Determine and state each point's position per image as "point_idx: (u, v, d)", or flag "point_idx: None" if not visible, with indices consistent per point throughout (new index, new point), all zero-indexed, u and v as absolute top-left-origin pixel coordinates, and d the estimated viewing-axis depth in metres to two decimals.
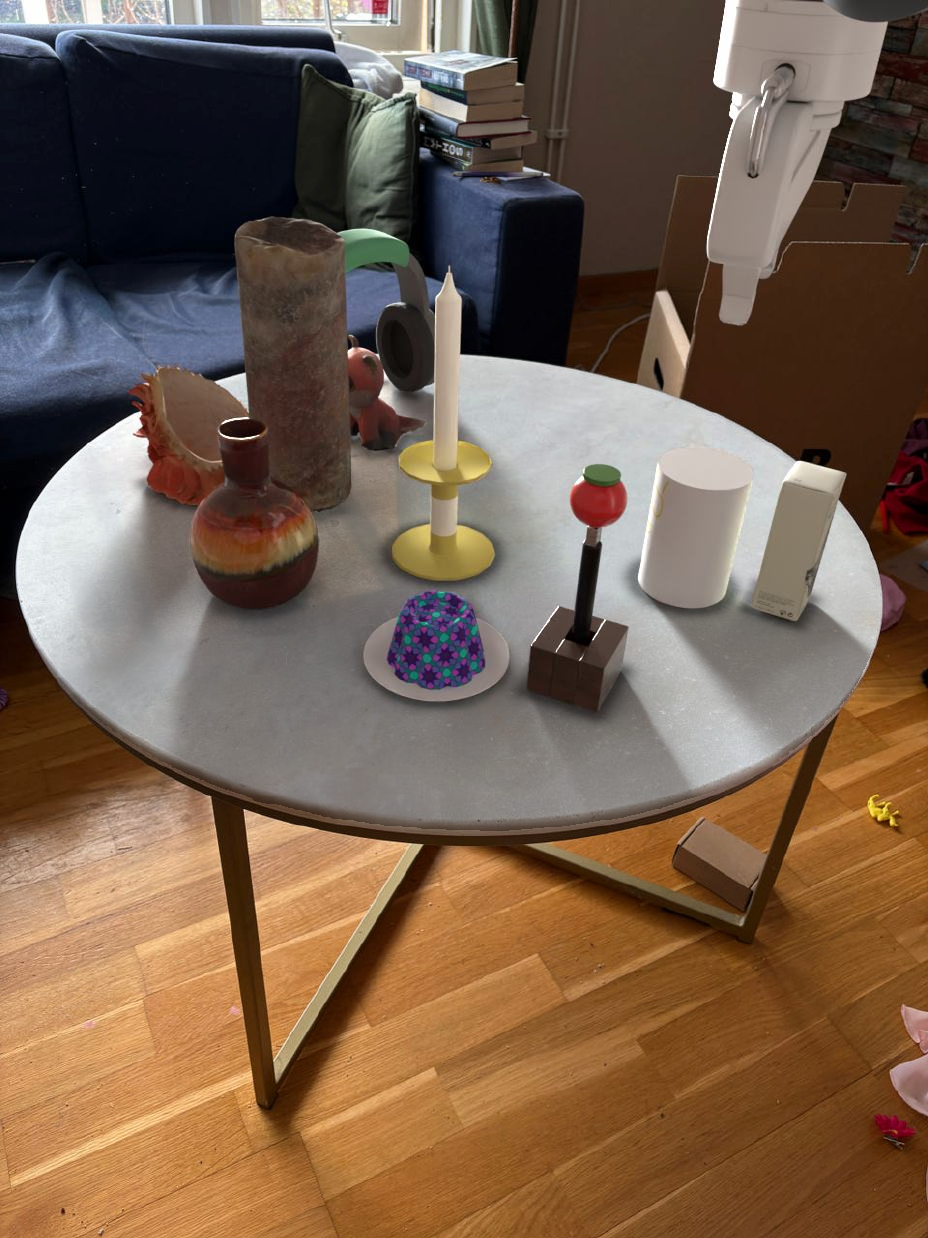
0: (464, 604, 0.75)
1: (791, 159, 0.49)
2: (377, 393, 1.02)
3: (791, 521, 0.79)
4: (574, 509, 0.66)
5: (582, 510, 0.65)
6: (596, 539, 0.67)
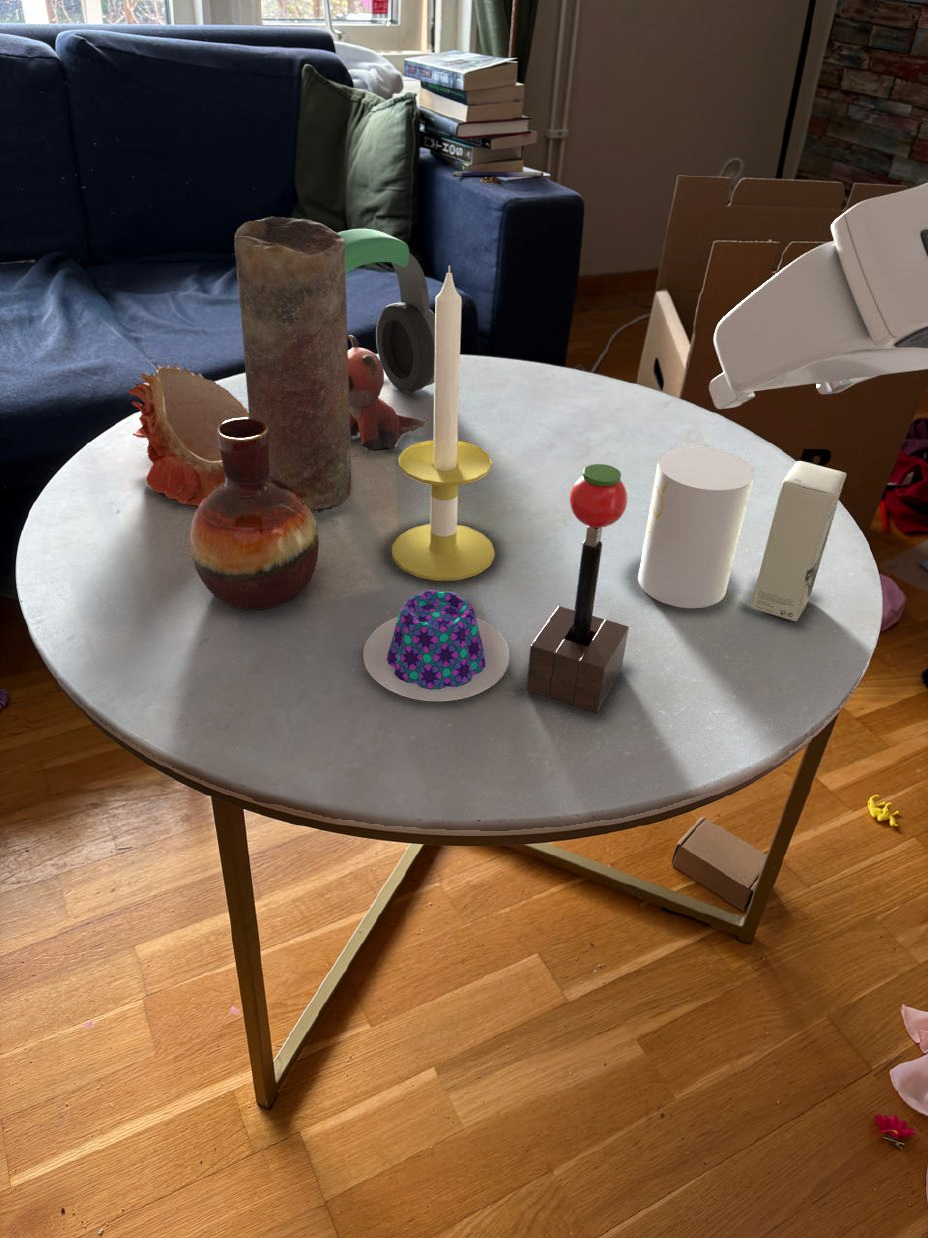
0: (464, 604, 0.75)
1: None
2: (377, 393, 1.02)
3: (791, 521, 0.79)
4: (574, 509, 0.66)
5: (582, 510, 0.65)
6: (596, 539, 0.67)
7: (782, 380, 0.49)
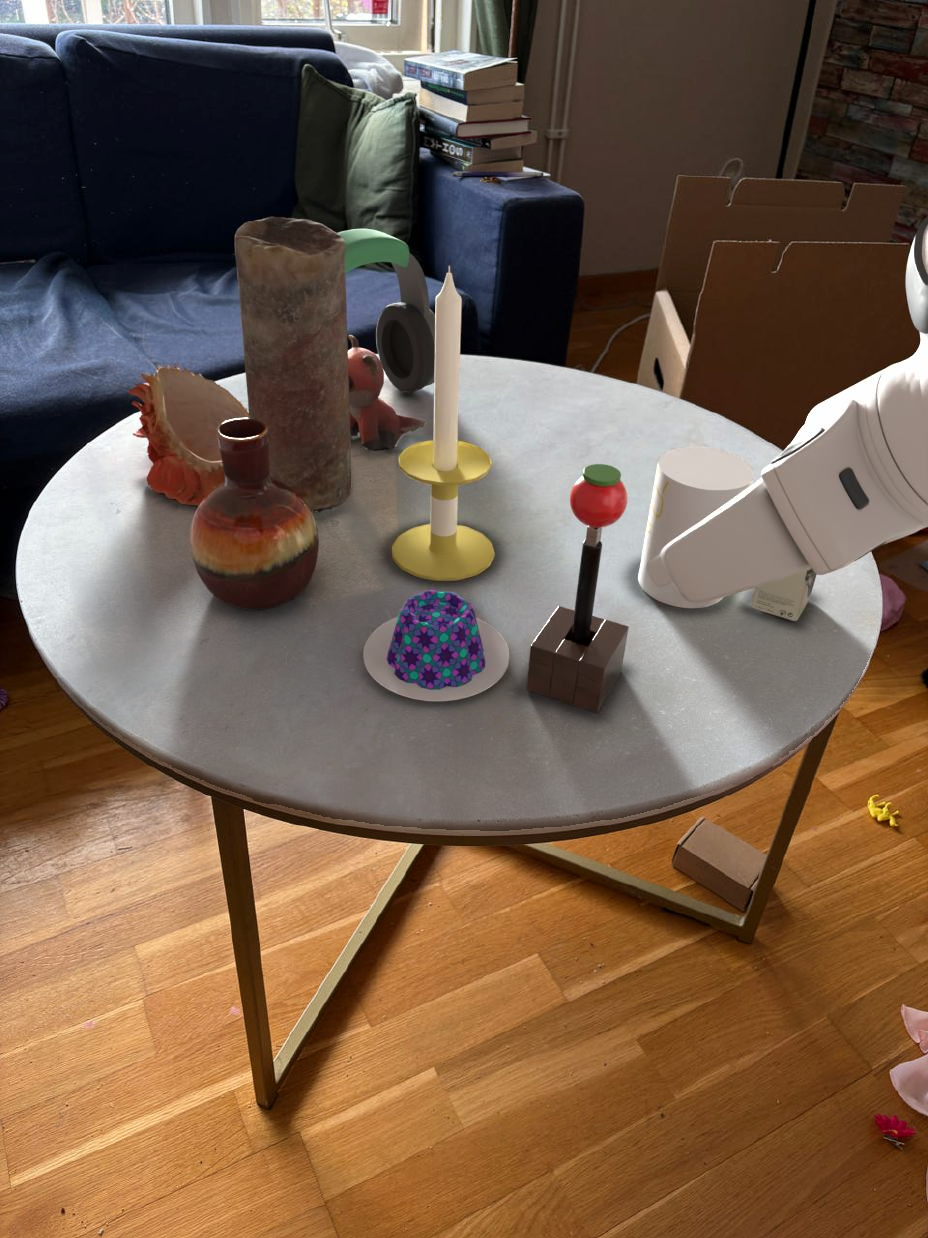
0: (464, 604, 0.75)
1: None
2: (377, 393, 1.02)
3: None
4: (574, 509, 0.66)
5: (582, 510, 0.65)
6: (596, 539, 0.67)
7: None
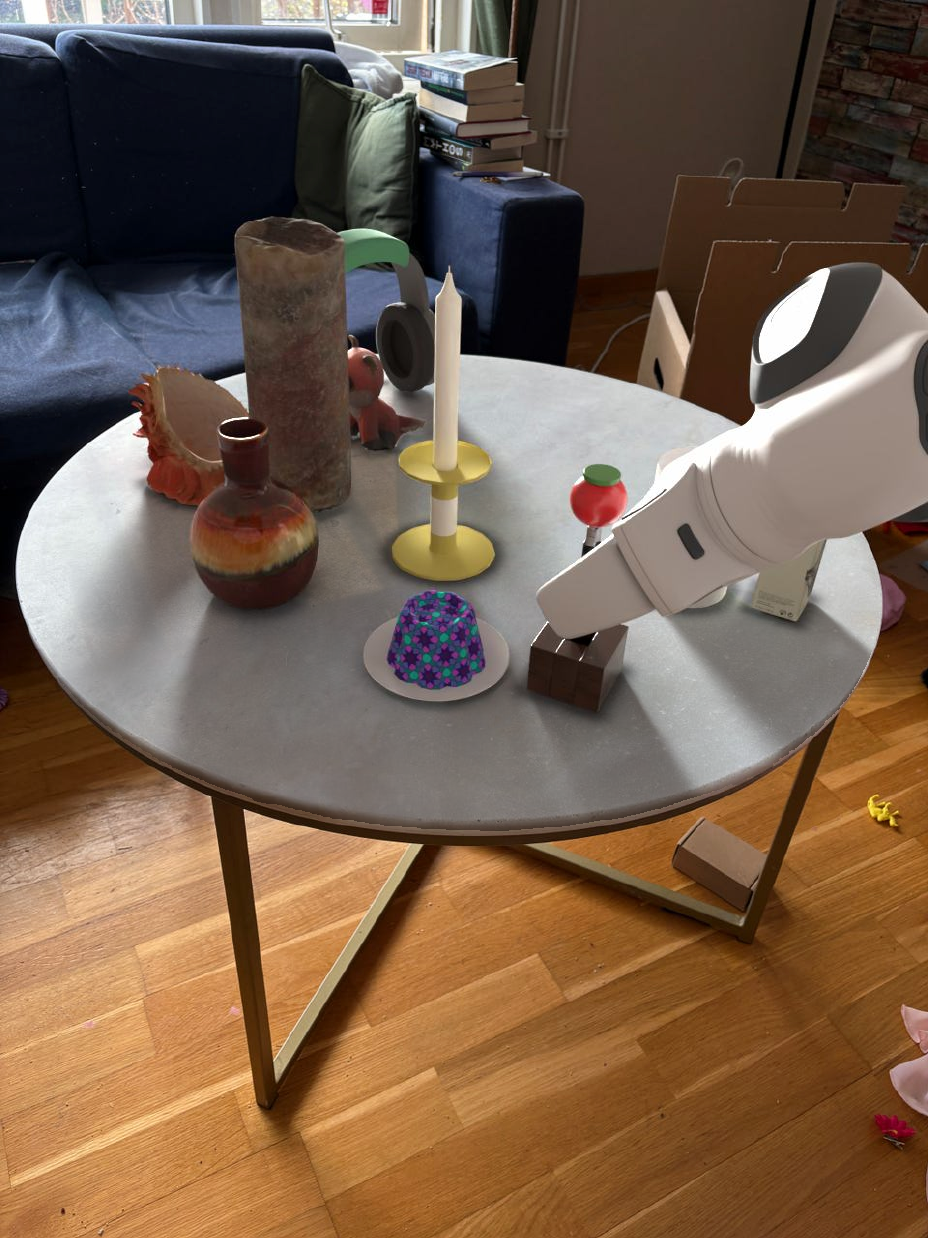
0: (464, 604, 0.75)
1: None
2: (377, 393, 1.02)
3: None
4: (574, 509, 0.66)
5: (582, 510, 0.65)
6: (596, 539, 0.67)
7: None
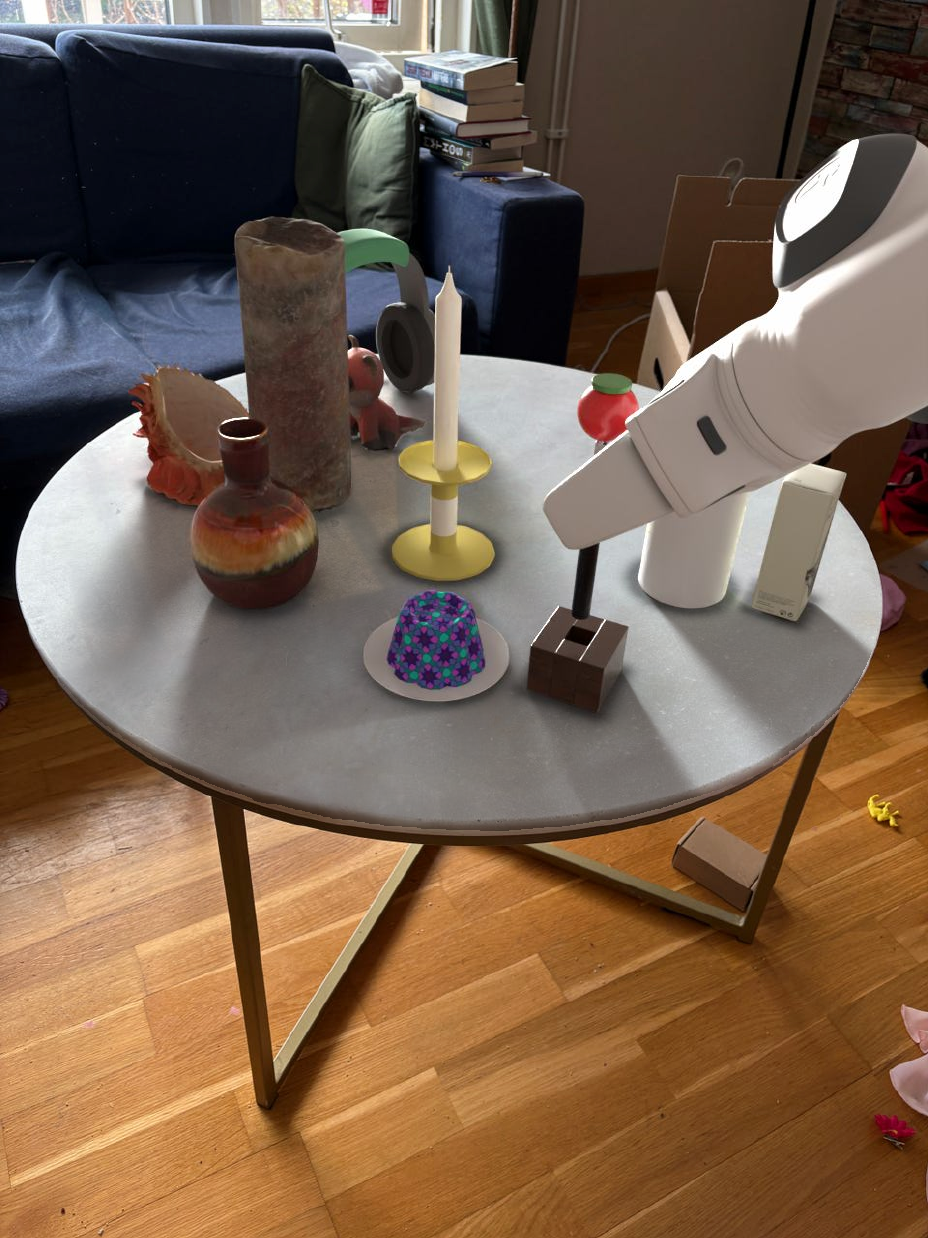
0: (464, 604, 0.75)
1: None
2: (377, 393, 1.02)
3: (791, 521, 0.79)
4: (582, 421, 0.61)
5: (591, 421, 0.61)
6: None
7: None
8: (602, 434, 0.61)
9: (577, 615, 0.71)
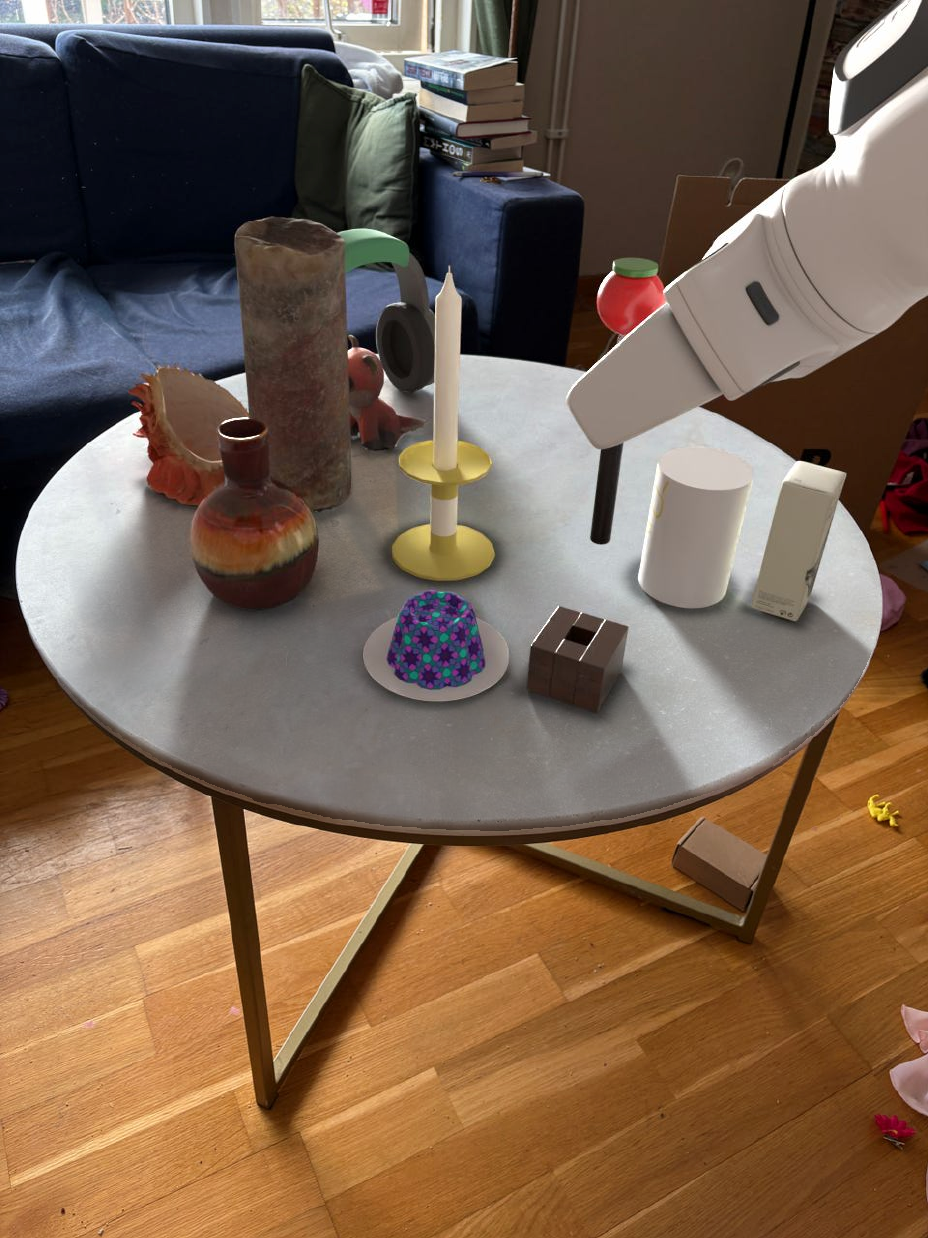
0: (464, 604, 0.75)
1: None
2: (377, 393, 1.02)
3: (791, 521, 0.79)
4: (603, 311, 0.55)
5: (613, 309, 0.54)
6: None
7: None
8: (626, 325, 0.55)
9: (597, 539, 0.65)
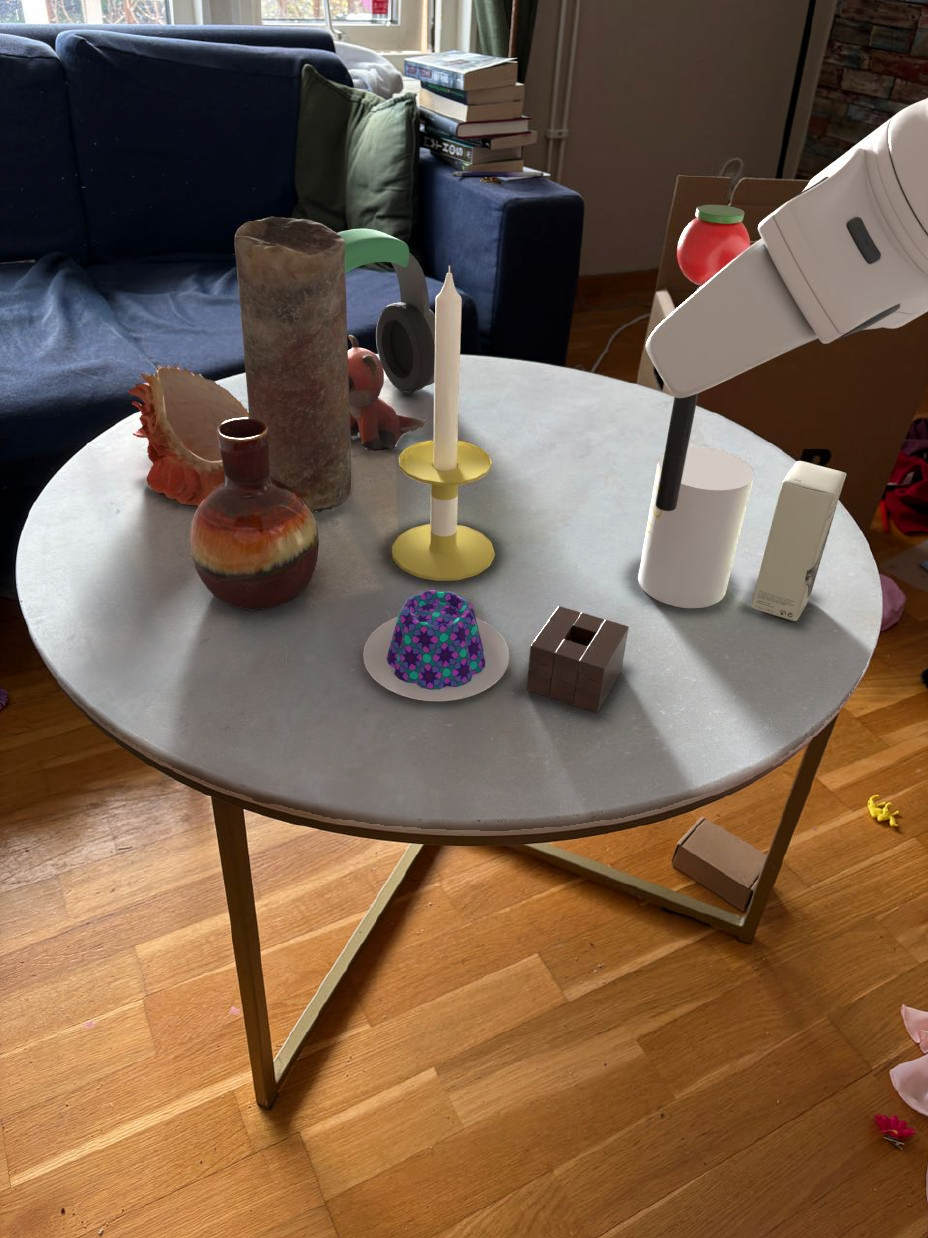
0: (464, 604, 0.75)
1: None
2: (377, 393, 1.02)
3: (791, 521, 0.79)
4: (683, 259, 0.53)
5: (695, 257, 0.52)
6: None
7: None
8: (708, 274, 0.52)
9: (663, 505, 0.62)
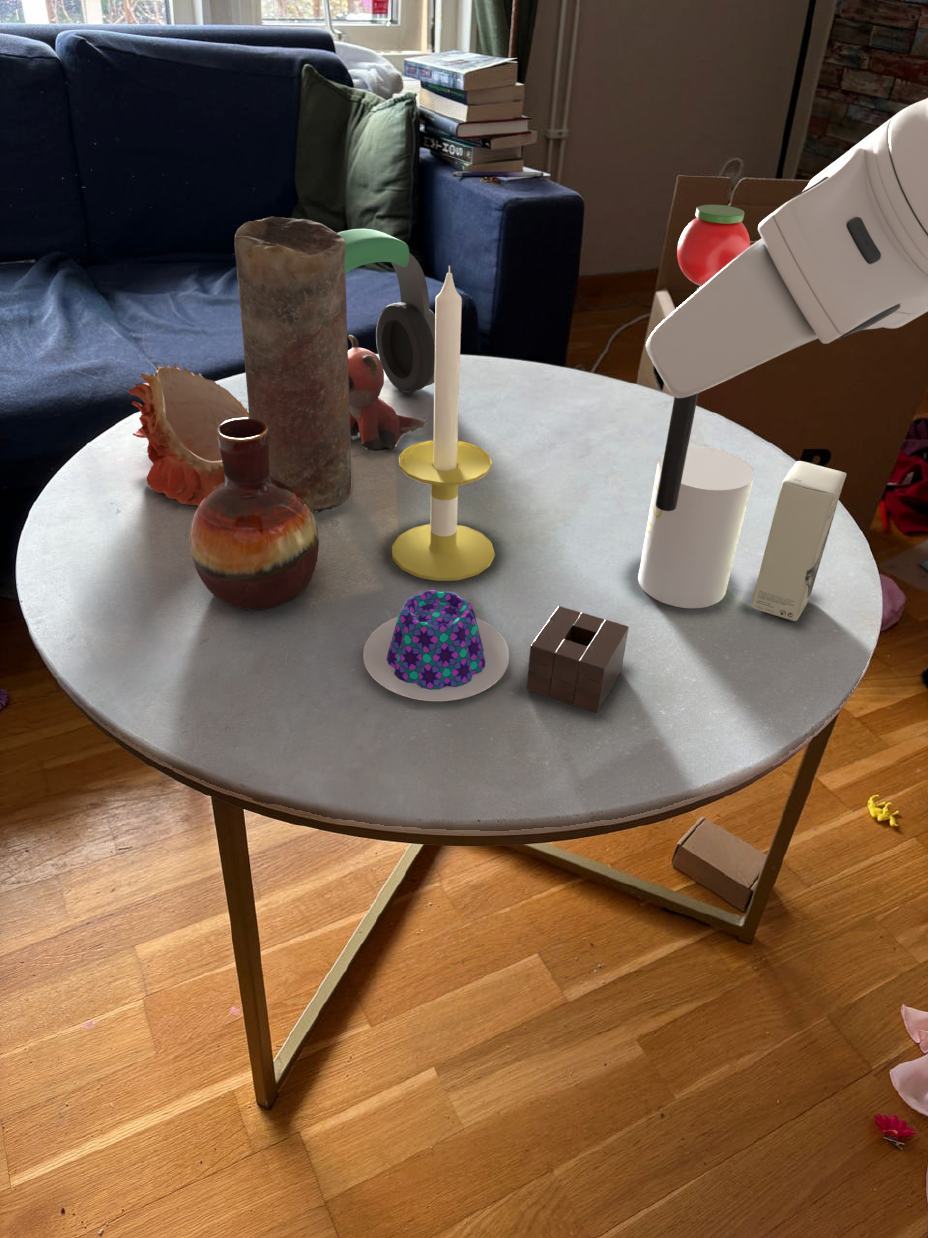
0: (464, 604, 0.75)
1: None
2: (377, 393, 1.02)
3: (791, 521, 0.79)
4: (683, 259, 0.53)
5: (695, 257, 0.52)
6: None
7: None
8: (708, 274, 0.52)
9: (663, 505, 0.62)
